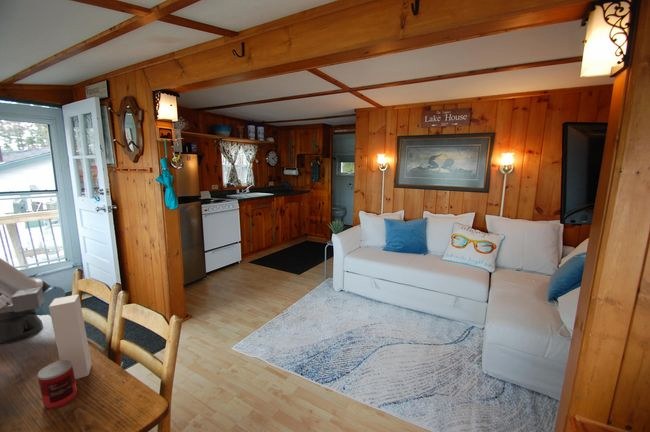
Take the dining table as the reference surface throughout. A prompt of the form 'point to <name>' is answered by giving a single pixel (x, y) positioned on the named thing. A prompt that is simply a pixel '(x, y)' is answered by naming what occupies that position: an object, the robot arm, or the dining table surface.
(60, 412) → the dining table surface
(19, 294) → the steel bar
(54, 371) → the canned food
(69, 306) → the stand
